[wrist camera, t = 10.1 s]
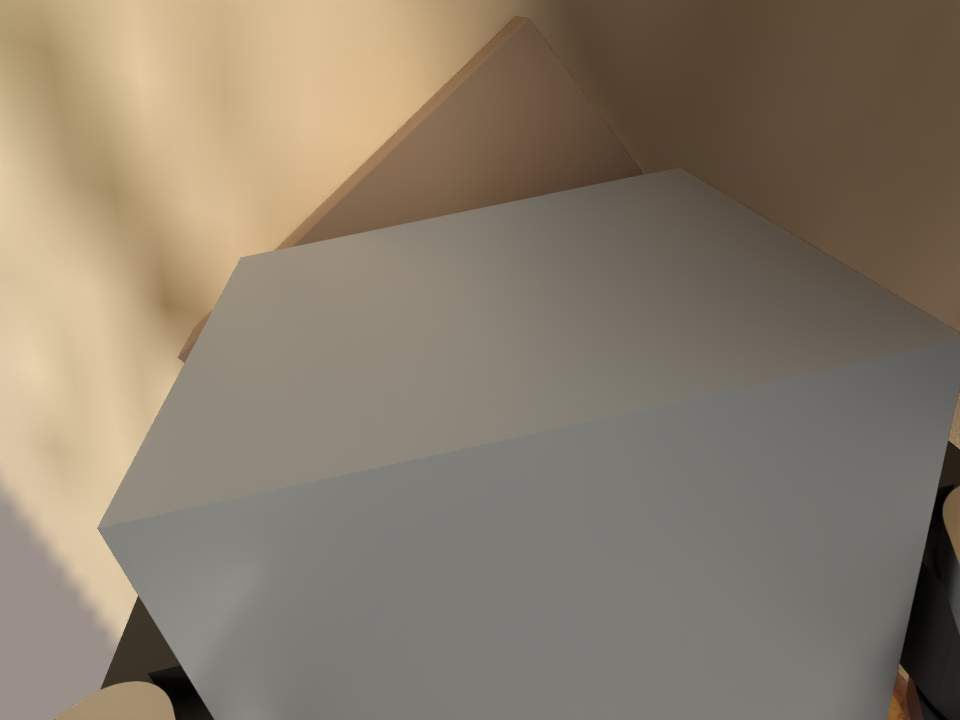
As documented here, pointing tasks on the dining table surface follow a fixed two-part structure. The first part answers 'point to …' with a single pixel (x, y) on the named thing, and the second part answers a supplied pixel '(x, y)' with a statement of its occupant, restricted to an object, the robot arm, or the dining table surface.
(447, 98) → the brown base with peg
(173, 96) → the dining table surface
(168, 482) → the matte grey box
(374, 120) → the dining table surface
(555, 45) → the dining table surface
